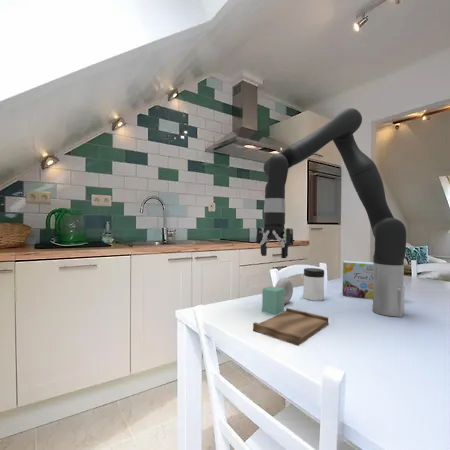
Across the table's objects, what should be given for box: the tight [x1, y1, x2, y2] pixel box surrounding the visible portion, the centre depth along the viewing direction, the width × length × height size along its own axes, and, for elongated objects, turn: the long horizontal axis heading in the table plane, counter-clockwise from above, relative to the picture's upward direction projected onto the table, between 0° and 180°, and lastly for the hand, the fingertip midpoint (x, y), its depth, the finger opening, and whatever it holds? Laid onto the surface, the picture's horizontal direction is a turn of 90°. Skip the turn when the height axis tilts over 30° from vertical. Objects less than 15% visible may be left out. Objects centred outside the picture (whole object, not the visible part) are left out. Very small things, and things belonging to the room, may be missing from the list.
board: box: [252, 307, 329, 346], centre depth 80 cm, size 14×20×2 cm
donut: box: [274, 277, 294, 305], centre depth 105 cm, size 10×4×10 cm, turn 135°
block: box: [261, 285, 285, 316], centre depth 95 cm, size 6×6×8 cm
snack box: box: [341, 260, 373, 300], centre depth 116 cm, size 21×6×15 cm, turn 68°
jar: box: [302, 267, 325, 302], centre depth 113 cm, size 9×8×12 cm
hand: (273, 256), depth 97 cm, fingers open, 8 cm apart
